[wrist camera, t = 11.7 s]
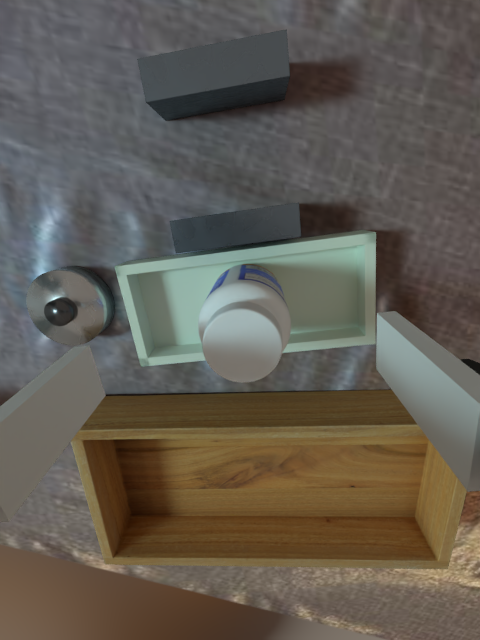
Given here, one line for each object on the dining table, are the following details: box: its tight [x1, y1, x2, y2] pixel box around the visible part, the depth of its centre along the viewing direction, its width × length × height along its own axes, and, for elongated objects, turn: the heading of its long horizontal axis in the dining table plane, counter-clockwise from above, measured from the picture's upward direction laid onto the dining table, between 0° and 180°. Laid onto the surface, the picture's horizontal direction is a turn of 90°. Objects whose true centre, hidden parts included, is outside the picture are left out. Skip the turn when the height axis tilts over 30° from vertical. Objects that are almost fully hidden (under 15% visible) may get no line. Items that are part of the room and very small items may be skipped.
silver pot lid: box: [27, 266, 115, 345], centre depth 25 cm, size 6×6×3 cm
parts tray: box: [115, 230, 376, 367], centre depth 24 cm, size 8×18×2 cm, turn 98°
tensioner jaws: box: [137, 29, 301, 253], centre depth 20 cm, size 10×8×4 cm
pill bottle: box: [198, 264, 291, 382], centre depth 20 cm, size 5×5×10 cm
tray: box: [71, 390, 467, 569], centre depth 28 cm, size 31×15×6 cm, turn 93°
